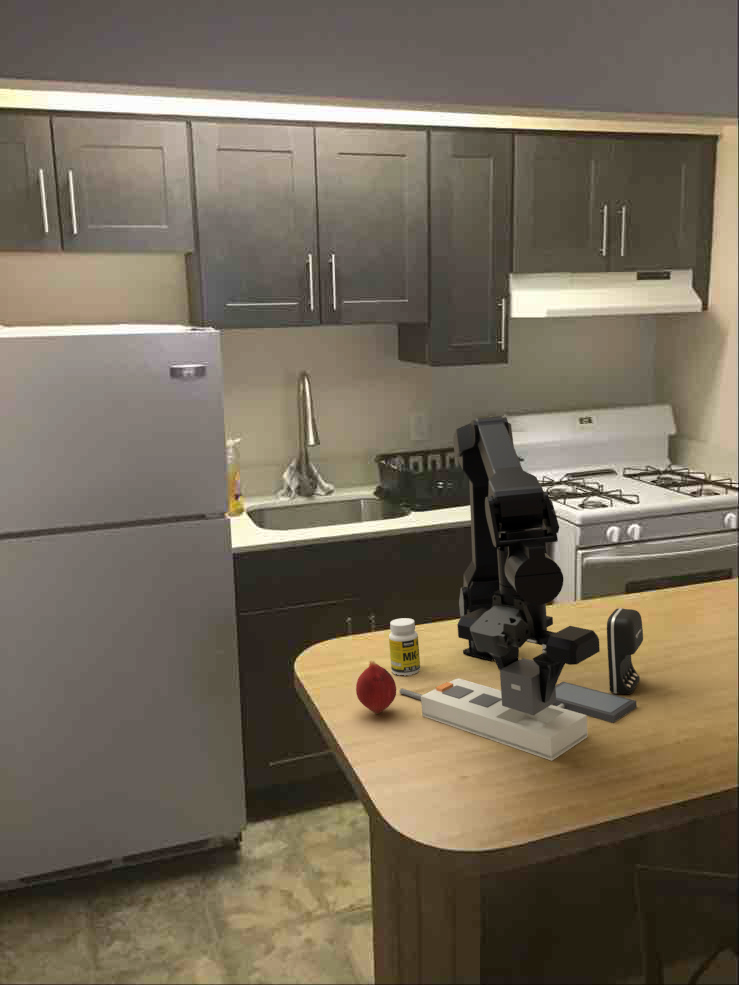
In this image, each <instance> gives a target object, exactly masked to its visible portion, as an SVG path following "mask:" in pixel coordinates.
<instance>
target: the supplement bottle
mask: <svg viewBox="0 0 739 985" xmlns="http://www.w3.org/2000/svg"><path fill="white" fill-rule="evenodd" d="M389 624H390V626H389V629H390V633H389V635H388V642H389V654H390V655H389V656H390V670H391V672H392V673H393V674H394V673H395V674H394V675H396V674H397V675H396V676H400V675H404V676H403V677H405V676H406V675H408V676H412V674H413V675H415V673H416V674H418V673H419V672H420V671H419V670H421V661H420V660H421V659H420V658H421V657H420V646H419V634H418V632H417V631H416V625H415V624H416V623H415V620H414V619H412V618H408V617H407V618H406V617H404V618H402V617H400V618H396V619H392V620H391V621H390V622H389ZM418 671H419V672H418Z"/></svg>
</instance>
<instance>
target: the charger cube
mask: <svg viewBox="0 0 739 985" xmlns="http://www.w3.org/2000/svg"><path fill="white" fill-rule="evenodd" d="M499 677H500V678H499V679H500V680H499V681H500V690H501V696H502V706H505V707H508V708H511V709H514V710H518V711H521V712H524V713H527V714H531V715H535V714H537V713H538V712H540V711H542V710H544V709H545V708H547V707H549V706H550V705H552V704H554V703H555V702H556V688H554V690H553V693H552V695H551V698H550V700H549V701H548V702H546V703H544V702H542V697H541V691H540V675H539V666H538V665H537V664H536V663H535V661H534V660H533V659H529V658H524V657H522V658H520V659H518V661H516V662H514V663H512V664H510V665H508V666H506V667H504V668H502V669H500V671H499Z"/></svg>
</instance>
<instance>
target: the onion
mask: <svg viewBox="0 0 739 985" xmlns="http://www.w3.org/2000/svg"><path fill="white" fill-rule="evenodd" d="M355 685H356V687H355V692H356V696H357V699H358V700H359V702H360V703H361V704H362V705H363V707H364V708H367V709H369V711H372V712H373V713H374V714H376V715H377V714H380V713H382V712H383V711H385V710H386V709H387V708H388V707H389V706H390V705H392V704H393V702H394V700H395V698H396V696H397V685H396V682H395V680H394V678H393V675H391V674H390V672H389V671H388V670H387V669H386V668H385V667H383V666H381V665H379V664H378V663H376V662H375V660H373V659H369V665H368V667H366V668H365V669H364V670H363V671H362V673H361V674H359V676H358V678H357V682H356V684H355Z"/></svg>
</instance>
